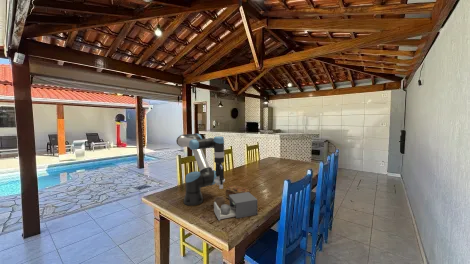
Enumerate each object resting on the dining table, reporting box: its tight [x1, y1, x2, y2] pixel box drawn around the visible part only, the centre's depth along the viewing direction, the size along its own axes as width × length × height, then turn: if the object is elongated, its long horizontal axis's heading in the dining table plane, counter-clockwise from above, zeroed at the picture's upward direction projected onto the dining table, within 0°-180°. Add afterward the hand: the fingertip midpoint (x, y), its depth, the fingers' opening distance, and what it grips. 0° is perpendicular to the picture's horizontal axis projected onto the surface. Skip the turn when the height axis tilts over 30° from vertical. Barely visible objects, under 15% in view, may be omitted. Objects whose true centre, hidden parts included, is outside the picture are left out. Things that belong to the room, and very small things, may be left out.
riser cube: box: [214, 195, 226, 209], centre depth 146 cm, size 6×6×6 cm
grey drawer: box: [213, 201, 236, 221], centre depth 133 cm, size 13×16×7 cm
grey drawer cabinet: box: [228, 192, 258, 219], centre depth 137 cm, size 15×16×10 cm
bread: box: [225, 184, 251, 199], centre depth 159 cm, size 19×11×10 cm, turn 57°
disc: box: [214, 178, 226, 184], centre depth 145 cm, size 8×8×2 cm
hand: (219, 186), depth 145 cm, fingers closed on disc, 8 cm apart
